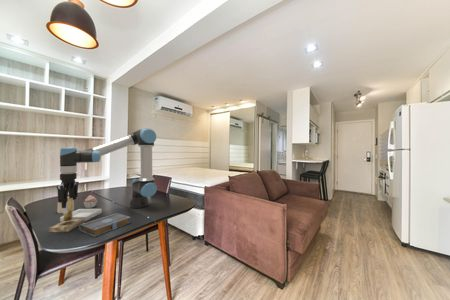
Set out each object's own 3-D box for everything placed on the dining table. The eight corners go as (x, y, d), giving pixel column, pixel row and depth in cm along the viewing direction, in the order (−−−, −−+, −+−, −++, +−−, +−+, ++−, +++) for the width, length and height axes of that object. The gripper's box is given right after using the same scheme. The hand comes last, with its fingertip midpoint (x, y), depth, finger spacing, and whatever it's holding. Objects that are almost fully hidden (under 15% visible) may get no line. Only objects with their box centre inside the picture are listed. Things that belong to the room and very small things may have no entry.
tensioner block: (83, 223, 110) (83, 219, 110) (67, 231, 98) (67, 227, 98) (66, 223, 109) (66, 219, 109) (48, 232, 97) (48, 227, 97)
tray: (101, 212, 128) (101, 208, 128) (86, 221, 112) (86, 216, 112) (78, 213, 127) (78, 209, 127) (59, 221, 111) (59, 217, 111)
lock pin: (74, 218, 106) (74, 197, 106) (68, 221, 102) (69, 199, 102) (67, 218, 106) (67, 197, 106) (61, 221, 102) (61, 199, 102)
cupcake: (99, 207, 141) (99, 194, 141) (85, 210, 133) (85, 197, 133) (94, 204, 146) (95, 193, 146) (81, 207, 139) (81, 195, 139)
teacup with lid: (75, 210, 132) (75, 195, 132) (59, 214, 124) (60, 198, 124) (68, 208, 137) (68, 193, 137) (52, 211, 129) (53, 196, 129)
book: (115, 218, 119) (115, 211, 119) (131, 223, 112) (131, 215, 112) (78, 231, 100) (79, 222, 100) (94, 237, 93) (95, 228, 93)
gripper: (72, 171, 112) (72, 207, 112) (48, 175, 95) (48, 217, 95) (85, 171, 112) (84, 206, 112) (63, 174, 96) (62, 216, 96)
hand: (68, 211), depth 104 cm, fingers closed on lock pin, 4 cm apart
